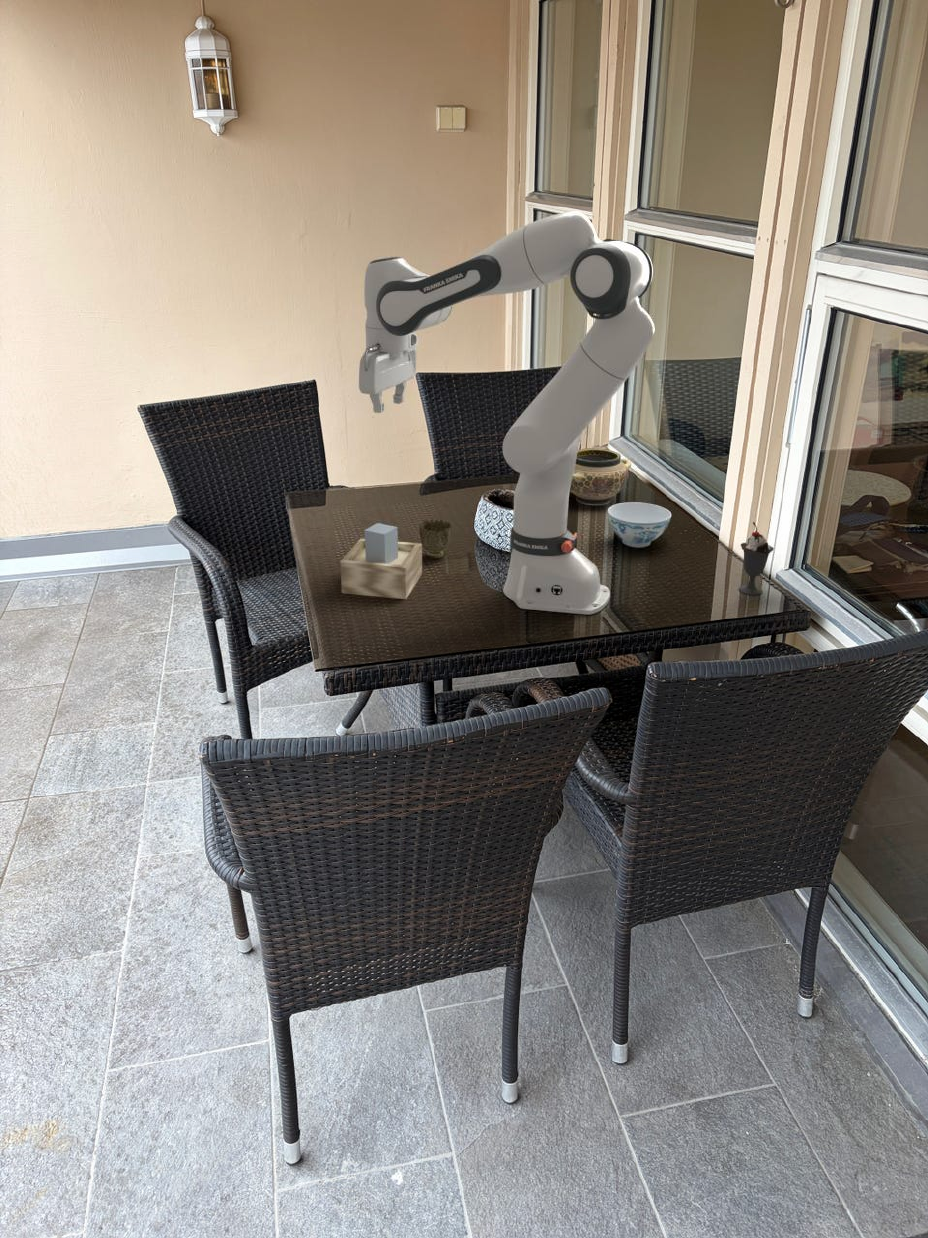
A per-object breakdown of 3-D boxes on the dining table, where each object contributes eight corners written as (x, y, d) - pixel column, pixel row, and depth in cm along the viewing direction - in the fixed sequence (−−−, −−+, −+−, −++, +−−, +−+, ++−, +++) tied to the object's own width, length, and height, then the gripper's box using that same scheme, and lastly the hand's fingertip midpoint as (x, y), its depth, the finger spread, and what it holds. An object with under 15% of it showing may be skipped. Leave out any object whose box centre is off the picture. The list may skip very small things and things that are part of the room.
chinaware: (602, 550, 221) (604, 519, 217) (608, 529, 234) (610, 499, 231) (666, 556, 218) (669, 525, 214) (669, 534, 231) (672, 505, 227)
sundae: (738, 582, 204) (747, 517, 198) (769, 588, 201) (780, 522, 195) (730, 593, 199) (740, 526, 192) (762, 599, 196) (773, 532, 190)
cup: (447, 563, 212) (447, 530, 209) (415, 561, 213) (415, 528, 210) (454, 552, 219) (454, 519, 215) (423, 549, 220) (423, 517, 217)
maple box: (422, 575, 207) (421, 543, 204) (406, 600, 195) (405, 567, 191) (361, 569, 209) (360, 538, 206) (342, 594, 197) (340, 561, 194)
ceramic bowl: (611, 496, 266) (607, 443, 263) (654, 497, 251) (649, 441, 248) (542, 510, 255) (536, 455, 251) (582, 513, 240) (576, 454, 236)
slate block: (398, 557, 200) (397, 527, 197) (385, 565, 196) (384, 534, 193) (378, 553, 202) (377, 523, 199) (365, 561, 198) (364, 530, 195)
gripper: (378, 349, 183) (380, 419, 189) (421, 334, 200) (421, 399, 206) (349, 347, 185) (352, 416, 191) (394, 332, 202) (396, 396, 208)
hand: (388, 407), depth 199 cm, fingers open, 8 cm apart
